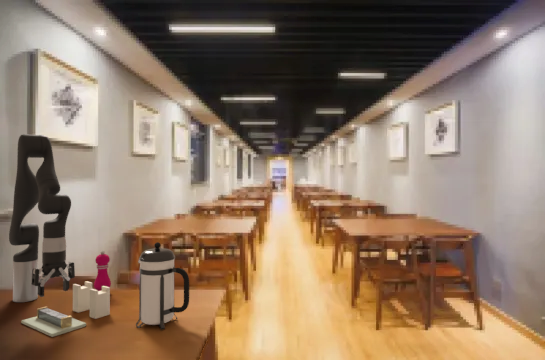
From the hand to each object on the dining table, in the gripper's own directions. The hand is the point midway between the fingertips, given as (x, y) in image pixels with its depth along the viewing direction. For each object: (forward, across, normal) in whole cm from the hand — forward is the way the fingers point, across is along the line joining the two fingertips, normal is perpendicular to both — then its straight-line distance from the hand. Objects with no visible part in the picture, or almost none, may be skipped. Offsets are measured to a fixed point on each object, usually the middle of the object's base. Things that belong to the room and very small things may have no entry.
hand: (53, 293), depth 142 cm
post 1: (+12, -15, -7) cm, 20 cm away
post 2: (+11, -15, +5) cm, 19 cm away
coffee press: (+11, -23, +32) cm, 40 cm away
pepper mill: (+12, -32, -20) cm, 39 cm away
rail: (+10, 0, 0) cm, 10 cm away
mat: (+11, 0, 0) cm, 11 cm away
